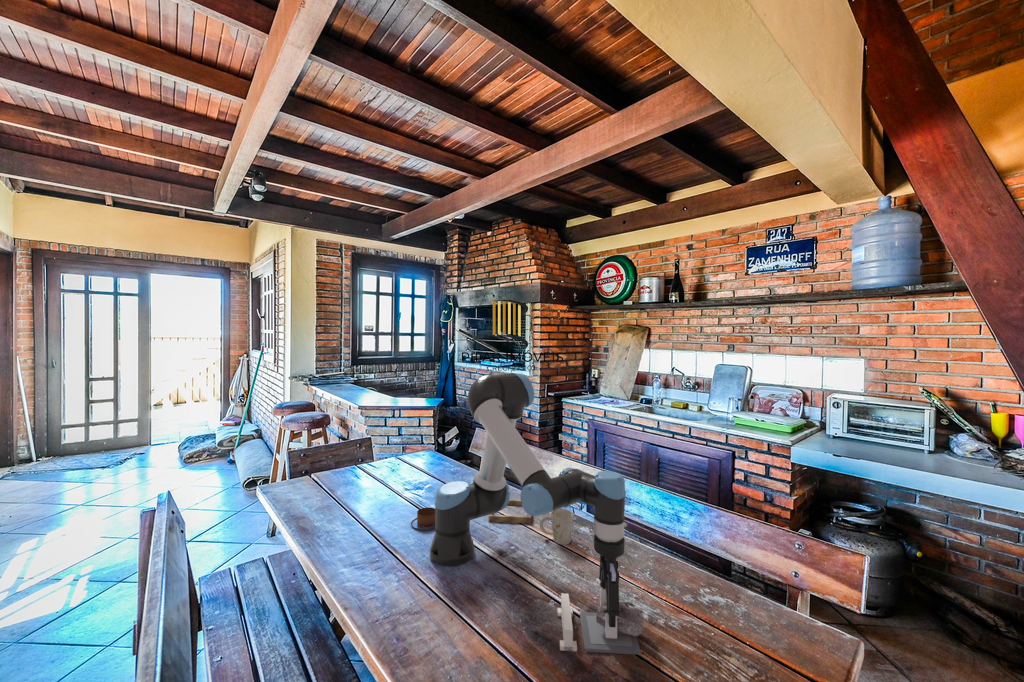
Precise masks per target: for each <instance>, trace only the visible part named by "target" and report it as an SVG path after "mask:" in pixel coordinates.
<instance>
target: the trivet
mask: <svg viewBox="0 0 1024 682" xmlns="http://www.w3.org/2000/svg"><path fill="white" fill-rule="evenodd" d="M596 616H597V612H587V611H580V612H579V618H580V623H581V624H580V625H581V631H582V638H583V645H584V650H585V652H586V653H601V654H621V655H639V656H641V655H642V650H641V646H640V644H639V642H638V638H637V636H633V635H629V634H627V633H622V632H618V631H617V639H616V638H606V637H605V628H604V627H603V626H602V625H600V624H598V623H597V621H596Z"/></svg>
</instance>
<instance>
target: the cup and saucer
mask: <svg viewBox="0 0 1024 682" xmlns="http://www.w3.org/2000/svg"><path fill="white" fill-rule="evenodd" d="M416 514H417V515H416V518H414V519H413V520H411V523H410V525H411V527H412V529H414V530H417V531H422V532H424V531H426V532H427V531H432V530H435V526H434V525H435V507H423V508H419V509H418V510H417V512H416ZM415 521H417V523H416V524H417V525H418V526H419V527H421V528H417V527H414V526H413V524H414V522H415ZM433 526H434V527H433Z"/></svg>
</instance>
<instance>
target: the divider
mask: <svg viewBox="0 0 1024 682" xmlns="http://www.w3.org/2000/svg"><path fill="white" fill-rule="evenodd" d="M570 603H571V602H570V596H569V593H564V592H562V593H560V607H557V608H556V609H557V610H556V611H557V617H561V628H562V638H563V640H562V639H561V640H559V650H560V651H561V652H562V651H567V652H578V645H577V640H574V638H573V637H574V626H573V621H572V620H573V619H572V618H573V615H574V612H573V608H571V604H570Z"/></svg>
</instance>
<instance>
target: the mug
mask: <svg viewBox="0 0 1024 682" xmlns="http://www.w3.org/2000/svg"><path fill="white" fill-rule="evenodd" d="M574 516H575V514H574V512H573V511H571V510H569V509H566V508H565V509H562V508H559V509H556V510H553V511H551V512H550V516H548V515H547V516H543V517H542V518H541V519H540V520H539V528H540V530H541V531H542V532H543V533H544V534H545V535H551V536H553V541H554V542H555V543H556V544H558V545H568V544H570V542H571V541H572V540H571V539H572V532H573V525H574ZM545 521H551V527H552V531H547V530H546V529H545V527H544V523H545Z"/></svg>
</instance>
